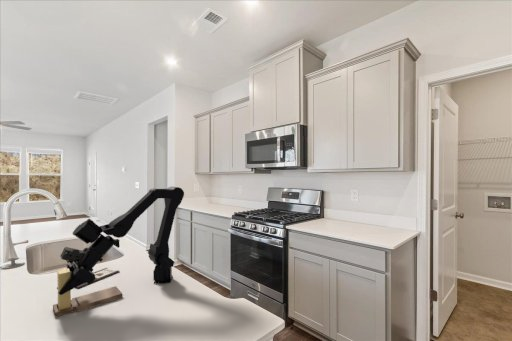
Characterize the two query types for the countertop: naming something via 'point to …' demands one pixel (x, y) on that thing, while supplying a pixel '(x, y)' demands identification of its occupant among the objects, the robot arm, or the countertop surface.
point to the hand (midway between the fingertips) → (58, 291)
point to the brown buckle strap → (89, 300)
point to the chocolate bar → (100, 276)
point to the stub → (65, 298)
